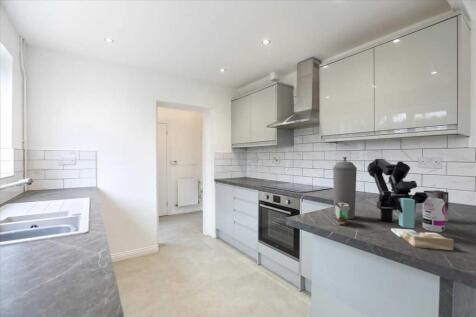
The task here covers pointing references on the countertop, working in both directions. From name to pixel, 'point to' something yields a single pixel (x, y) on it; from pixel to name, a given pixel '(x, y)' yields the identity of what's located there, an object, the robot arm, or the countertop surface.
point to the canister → (345, 185)
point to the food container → (341, 213)
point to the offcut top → (433, 235)
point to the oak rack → (429, 241)
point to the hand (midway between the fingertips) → (408, 212)
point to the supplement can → (433, 214)
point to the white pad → (411, 232)
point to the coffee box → (440, 195)
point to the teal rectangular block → (407, 212)
